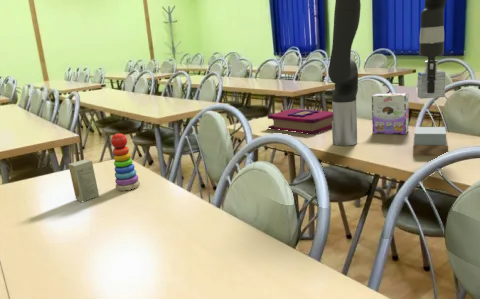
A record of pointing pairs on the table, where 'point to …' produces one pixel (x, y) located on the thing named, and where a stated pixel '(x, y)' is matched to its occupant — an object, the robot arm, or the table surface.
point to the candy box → (390, 113)
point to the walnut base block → (430, 149)
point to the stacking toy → (123, 164)
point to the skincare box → (83, 180)
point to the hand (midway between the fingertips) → (430, 91)
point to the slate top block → (430, 136)
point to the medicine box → (438, 85)
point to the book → (302, 120)
